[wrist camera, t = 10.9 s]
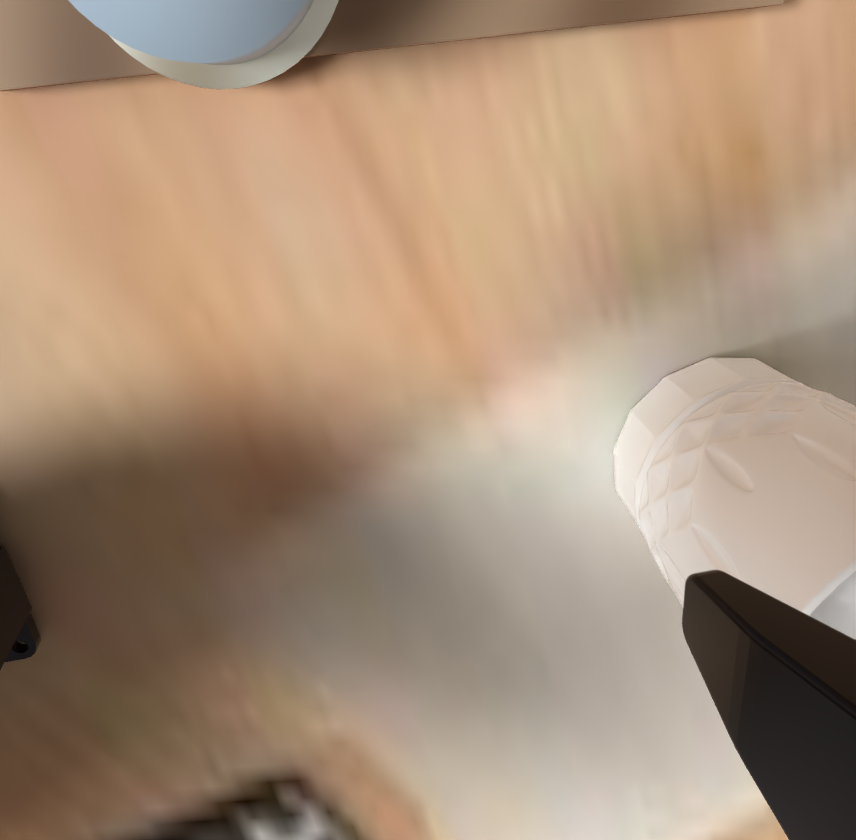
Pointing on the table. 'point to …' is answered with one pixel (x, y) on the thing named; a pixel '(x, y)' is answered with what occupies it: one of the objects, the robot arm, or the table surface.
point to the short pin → (198, 26)
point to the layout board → (300, 35)
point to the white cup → (746, 483)
